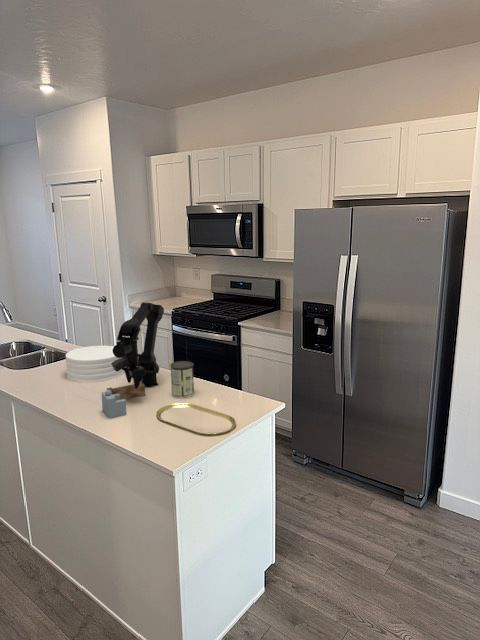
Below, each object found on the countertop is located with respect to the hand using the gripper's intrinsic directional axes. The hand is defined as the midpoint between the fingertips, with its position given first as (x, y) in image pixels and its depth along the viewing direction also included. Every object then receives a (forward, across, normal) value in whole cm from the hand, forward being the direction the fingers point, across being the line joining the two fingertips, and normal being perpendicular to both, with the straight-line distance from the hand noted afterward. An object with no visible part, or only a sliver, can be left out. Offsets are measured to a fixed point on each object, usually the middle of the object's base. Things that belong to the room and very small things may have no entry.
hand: (132, 385), depth 196 cm
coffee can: (+5, +9, +20) cm, 23 cm away
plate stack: (+6, -42, -5) cm, 43 cm away
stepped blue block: (+5, +13, -13) cm, 19 cm away
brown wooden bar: (+5, 0, -3) cm, 6 cm away
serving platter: (+6, +37, +12) cm, 39 cm away
